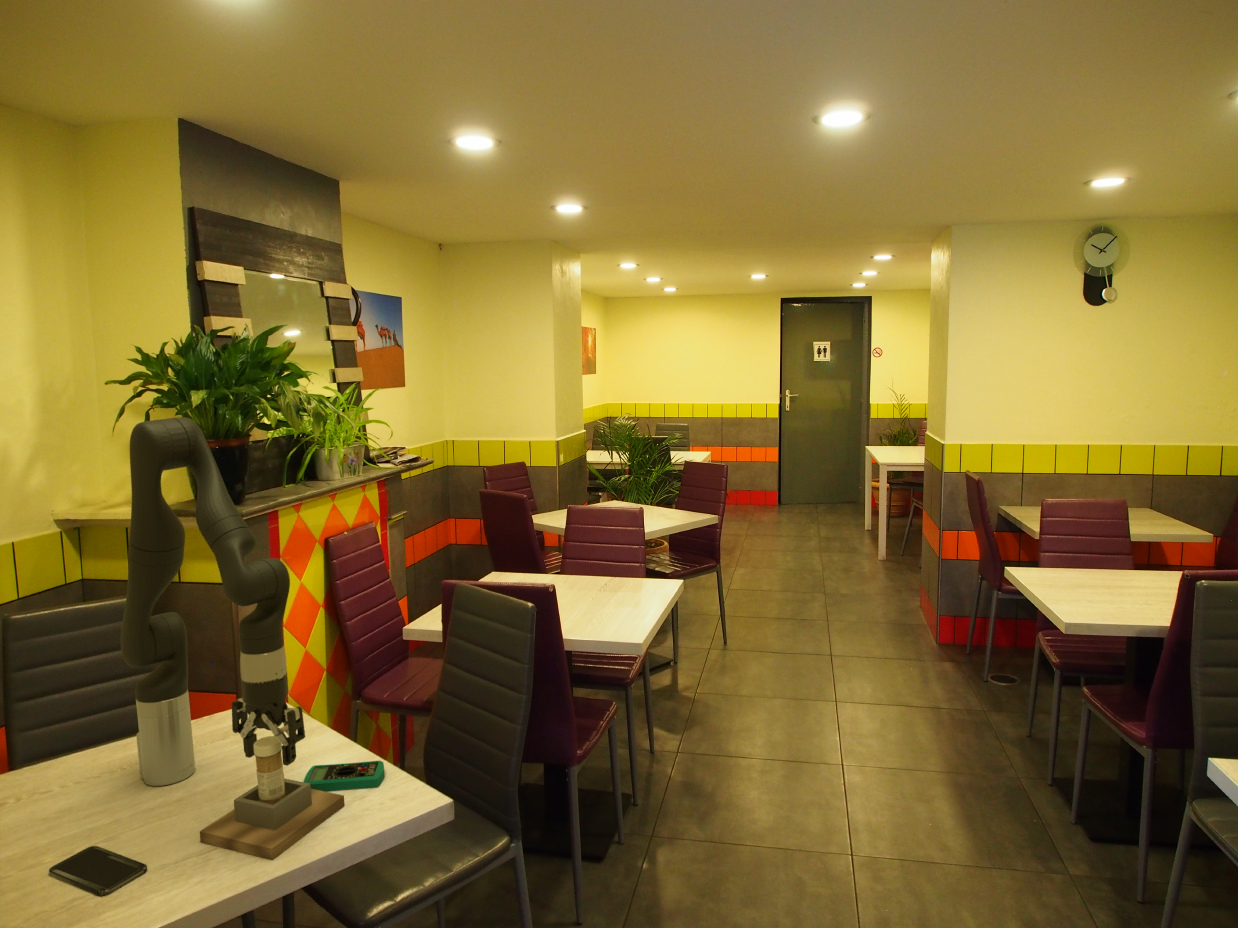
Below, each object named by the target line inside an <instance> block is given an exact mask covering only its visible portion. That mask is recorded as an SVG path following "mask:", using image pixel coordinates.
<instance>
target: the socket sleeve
mask: <svg viewBox="0 0 1238 928" xmlns="http://www.w3.org/2000/svg"><path fill="white" fill-rule="evenodd" d="M284 781H285V797H284V798H283V799H281V800H280V801H278V802H277V803H275V804H274V805H272V804H267V803H263V802H260V798H259V791H258V784H257V785H256V786H254V787H252V788H251V789H249V790H247V791H246V792H244V793H243V794H241V795H239V796H238V797H236V798H235V799H233V810H234V809H235V821H236V822H241V823H245V824H249V825H254V826H258V827H262V828H267V829H271V830H277V829H278V828H280V827H281V826H282V825H284V824H285V823H287V822H288V821H289V820H291V819H292V818H294V817H295V816H296V815H298V814H299V813H301V812H302V811H303V810H305V809H306V808H308V807H309V806H310V805H312V798H311V784H309V783H304V782H303V781H298V780H294V779H290V778H289V779H288V778H285V777H284Z"/></svg>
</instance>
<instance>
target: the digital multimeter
mask: <svg viewBox="0 0 1238 928" xmlns="http://www.w3.org/2000/svg"><path fill="white" fill-rule="evenodd" d="M304 776H305V777H304V779H303V781H302V782H304V783H309V784H311V789H315V790H320V791H325V792H333V791H334V792H335V791H344V790H345V791H346V790H348V791H349V790H360V789H374V788H375V789H376V788H378V787H379V786H380V785H381V784H382V783H383V780H384V779H385V764H384V761H381V760H371V761H362V762H360V761H358V762H349V763H334V764H332V763H331V764H316V765H315V764H314V765H312V766H311V767H310V768H309V770H308V771H307V772H306V774H305V775H304Z"/></svg>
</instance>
